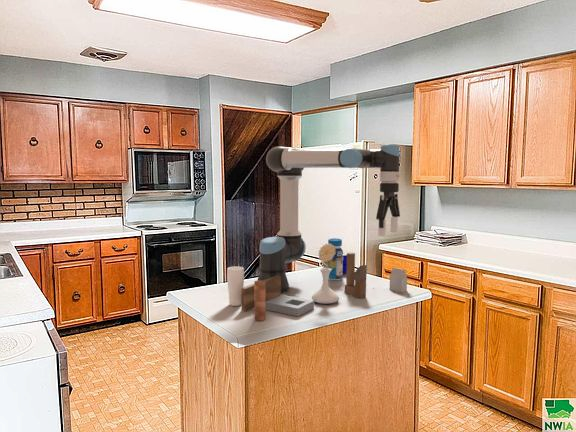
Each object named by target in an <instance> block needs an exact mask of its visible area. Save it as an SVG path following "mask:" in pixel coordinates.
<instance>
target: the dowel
mask: <svg viewBox="0 0 576 432" xmlns="http://www.w3.org/2000/svg"><path fill="white" fill-rule="evenodd" d="M253 284H254V308H253V309H254V312H253V313H254V315H253V316H254V317H253V318H254V321H255V322H264V321H266V309H265V281H262V280H259V281H257V280H255V281H254V282H253Z"/></svg>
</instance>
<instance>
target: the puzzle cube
mask: <svg viewBox="0 0 576 432" xmlns="http://www.w3.org/2000/svg"><path fill="white" fill-rule="evenodd" d="M342 256H343V272H342V273H343V275H345V274H346V273H347V253H344V252H343V255H342ZM324 263H326V264H327V261H326V262H324ZM322 264H323V263H322ZM322 268H327V266H326V265H324V264H323V267H322Z"/></svg>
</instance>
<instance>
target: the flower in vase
mask: <svg viewBox="0 0 576 432" xmlns="http://www.w3.org/2000/svg"><path fill="white" fill-rule="evenodd" d="M335 251H336V250H335V247H334V246H333V245H332V244H330V243H329V244H328V243H325V244H323V245H322V246H321V247H320V248H319V251H318V259H319V260H320V262H321V264H324V265H326V266H327V264H326V263H324V262H326V261H327V260H328V261H329V260H330V263H329V265H330V268H336V265H335V263H334V262H332V263H331V259H332V257H334V255H335V254H336V252H335ZM329 265H328V267H329ZM328 267H327V268H323V267H322V268H319V270H320V272H321V275H322V286H321V287H320V288H319V289H318V290H316V291H315V292H314V293H313V294H312V295H311V300H313V301H314V303H315V302H316V303H317V304H325V305H326V304H330V305H331V304H333V303H337V302H339V300H340V297H339V295H338V294H337V293H336V292H335V291H334V290H333V289H331V288H330V286H329V279H328V278H329V274H330V272H331V270H332V269H330V268H328Z"/></svg>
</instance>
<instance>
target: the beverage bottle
mask: <svg viewBox="0 0 576 432" xmlns="http://www.w3.org/2000/svg"><path fill="white" fill-rule="evenodd" d="M327 241H328V243H327V244H329V243H330V244H332V245H333V246H334V247H335V250H336V251H335V252H336V254H335V255H334V257H332V259H331V263H332V262H334V263H335V265H336V268H330V265H329V263H330V260H329V261H328V260H327V267H328V265H329V267H328V268H330V269H332V270H331V272H330V274H329V278H328V281H341V280H343V277H344V276H343V275H344V274H343V273H342V272H343V256H342V255H343V253H344V251H343V249H342V245H343V242H342V241H343V240H342V239H341V238H329V239H328V240H327Z"/></svg>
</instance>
